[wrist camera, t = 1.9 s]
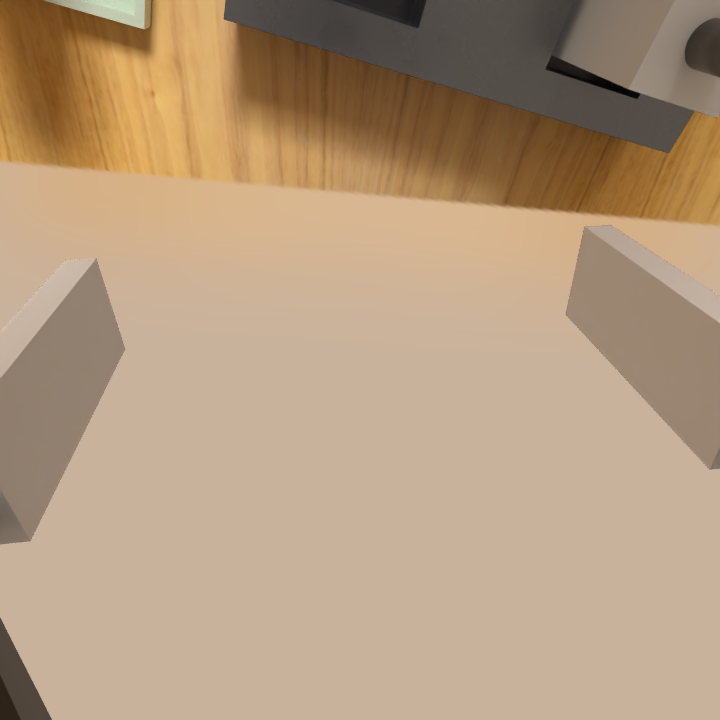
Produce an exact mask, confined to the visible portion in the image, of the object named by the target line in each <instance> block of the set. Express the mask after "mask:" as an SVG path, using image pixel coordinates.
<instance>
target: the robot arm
mask: <svg viewBox="0 0 720 720" xmlns="http://www.w3.org/2000/svg"><path fill="white" fill-rule="evenodd" d="M566 315H567V316H568V318H569V319H570V320H571V321H572V322H573V323H574V324H575V325H576V326H577V327H578V328H579V329H580V330H581V332H582V333H583V334H584V335H585V336H586V337H587V338H588V339H589V340H590V341H591V342H592V343H593V344H594V346H595V347H596V348H597V349H598V350H599V351H600V352H601V353H602V354H603V355H604V356H605V357H606V358H607V359H608V361H609V362H610V363H611V364H612V365H613V366H614V367H615V368H616V369H617V370H618V371H619V372H620V373H621V375H622V376H623V377H624V378H625V379H626V380H627V381H628V382H629V383H630V384H631V385H632V386H633V387H634V389H635V390H636V391H637V392H638V393H639V394H640V395H641V396H642V397H643V398H644V399H645V400H646V402H647V403H648V404H649V405H650V406H651V407H652V408H653V409H654V410H655V411H656V412H657V413H658V414H659V416H660V417H661V418H662V419H663V420H664V421H665V422H666V423H667V424H668V425H669V426H670V427H671V428H672V430H673V431H674V432H675V433H676V434H677V435H678V436H679V437H680V438H681V439H682V440H683V441H684V443H686V445H687V446H688V447H689V448H690V449H691V450H692V451H693V452H694V453H695V454H696V455H697V456H698V458H700V460H701V461H702V462H703V463H704V464H705V465H706V466H707V467H708V468H709V469H718V468H720V296H719V295H718V294H716V293H715V292H713V291H712V290H710V289H709V288H707V287H706V286H704V285H702V284H701V283H699V282H698V281H696V280H695V279H693V278H691V277H690V276H689V275H687V274H685V273H684V272H682V271H681V270H679V269H678V268H676V267H675V266H673V265H671V264H670V263H668V262H667V261H665V260H664V259H662V258H661V257H659V256H658V255H656V254H655V253H653V252H651V251H650V250H648V249H647V248H645V247H644V246H642V245H641V244H639V243H638V242H636V241H634V240H633V239H631V238H630V237H628V236H627V235H625V234H624V233H622V232H621V231H619V230H617V229H616V228H614V227H613V226H611V225H605V226H588V227H584V231H583V236H582V240H581V245H580V250H579V254H578V259H577V264H576V269H575V273H574V278H573V282H572V287H571V292H570V296H569V302H568V306H567V310H566ZM124 350H125V347H124V344H123V341H122V337H121V334H120V331H119V328H118V325H117V322H116V319H115V316H114V312H113V309H112V306H111V303H110V300H109V297H108V294H107V291H106V287H105V284H104V281H103V278H102V275H101V272H100V269H99V265H98V262H97V259H80V260H65V261H64V263H63V264H62V265H61V266H60V267H59V268H58V269H57V270H56V271H55V272H54V273H53V275H52V276H51V277H50V278H49V279H48V280H47V281H46V282H45V283H44V284H43V285H42V287H41V288H40V289H39V290H38V291H37V292H36V293H35V294H34V295H33V296H32V297H31V299H30V300H29V301H28V302H27V303H26V304H25V305H24V306H23V307H22V308H21V309H20V310H19V312H18V313H17V314H16V315H15V316H14V317H13V318H12V319H11V320H10V321H9V322H8V324H7V325H6V326H5V327H4V328H3V329H2V330H1V331H0V544H7V543H17V542H27V541H31V539H32V536H33V535H34V532H35V531H36V528H37V527H38V525H39V522H40V520H41V518H42V516H43V514H44V512H45V510H46V508H47V506H48V504H49V502H50V500H51V498H52V496H53V494H54V492H55V490H56V488H57V486H58V484H59V482H60V480H61V478H62V476H63V474H64V471H65V470H66V468H67V466H68V464H69V462H70V460H71V458H72V456H73V454H74V452H75V450H76V447H77V446H78V443H79V441H80V439H81V437H82V435H83V433H84V431H85V429H86V427H87V425H88V423H89V421H90V419H91V417H92V415H93V413H94V411H95V409H96V407H97V405H98V403H99V401H100V399H101V397H102V395H103V393H104V391H105V389H106V387H107V385H108V383H109V380H110V378H111V376H112V375H113V372H114V371H115V369H116V366H117V364H118V362H119V360H120V358H121V356H122V354H123V352H124ZM0 720H52V719H51V717H50V715H49V713H48V711H47V709H46V707H45V705H44V703H43V701H42V699H41V698H40V695H39V693H38V691H37V689H36V687H35V685H34V684H33V682H32V680H31V678H30V676H29V674H28V672H27V670H26V668H25V666H24V664H23V662H22V660H21V658H20V656H19V654H18V652H17V650H16V648H15V646H14V644H13V642H12V640H11V638H10V636H9V634H8V632H7V630H6V628H5V626H4V624H3V622H2V620H1V618H0Z"/></svg>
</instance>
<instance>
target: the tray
mask: <svg viewBox="0 0 720 720" xmlns="http://www.w3.org/2000/svg"><path fill="white" fill-rule="evenodd" d="M44 1H47V2H51V3H54V4H58V5H61V6H65V7H68V8H72V9H75V10H78V11H82V12H85V13H89V14H92V15H96V16H99V17H103V18H106V19H110V20H113V21H117V22H120V23H124V24H127V25H131V26H134V27H138V28H141V29H146V28H148V27H151V8H152V0H44Z"/></svg>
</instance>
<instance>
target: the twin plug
mask: <svg viewBox="0 0 720 720" xmlns="http://www.w3.org/2000/svg"><path fill="white" fill-rule="evenodd" d="M552 55H553V56H555V57H557V58H559V59H561V60H564V61H566V62H568V63H570V64H573V65H575V66H577V67H579V68H582V69H584V70H586V71H588V72H591V73H593V74H595V75H597V76H600V77H602V78H604V79H606V80H609V81H611V82H613V83H615V84H618V85H620V86H622V87H624V88H627V89H629V90H632V91H635V92H638V93H641V94H645V95H648V96H651V97H654V98H657V99H660V100H663V101H666V102H669V103H672V104H675V105H678V106H681V107H684V108H687V109H691V110H694V111H697V112H700V113H703V114H706V115H709V116H712V117H715V118H717V117H718V115H719V114H720V0H575V1H574V3H573V6H572V8H571V10H570V13H569V15H568V17H567V20H566V22H565V24H564V27H563V29H562V31H561V34H560V36H559V38H558V41H557V43H556V45H555V48H554V50H553V52H552Z"/></svg>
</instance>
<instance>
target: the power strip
mask: <svg viewBox="0 0 720 720" xmlns="http://www.w3.org/2000/svg"><path fill="white" fill-rule="evenodd" d="M574 1H575V0H226V1H225V11H224V20H228V21H231V22H234V23H238V24H241V25H244V26H248V27H251V28H254V29H258V30H261V31H264V32H268V33H271V34H274V35H277V36H281V37H284V38H287V39H291V40H294V41H297V42H301V43H304V44H307V45H311V46H314V47H317V48H321V49H324V50H327V51H331V52H334V53H337V54H341V55H344V56H347V57H351V58H354V59H357V60H361V61H364V62H367V63H370V64H374V65H377V66H380V67H384V68H387V69H390V70H394V71H397V72H400V73H404V74H407V75H410V76H414V77H417V78H420V79H424V80H427V81H430V82H434V83H437V84H440V85H444V86H447V87H450V88H454V89H457V90H460V91H463V92H467V93H470V94H473V95H477V96H480V97H483V98H487V99H490V100H493V101H497V102H500V103H503V104H507V105H510V106H513V107H517V108H520V109H523V110H527V111H530V112H533V113H537V114H540V115H543V116H547V117H550V118H553V119H557V120H560V121H563V122H566V123H570V124H573V125H576V126H580V127H583V128H586V129H590V130H593V131H596V132H600V133H603V134H606V135H610V136H613V137H616V138H620V139H623V140H626V141H630V142H633V143H636V144H640V145H643V146H646V147H650V148H653V149H656V150H659V151H663V152H666V153H669V152H670V151H671V149H672V147H673V146H674V144H675V143H676V141H677V139H678V138H679V136H680V134H681V133H682V131H683V129H684V128H685V126H686V124H687V123H688V121H689V119H690V118H691V116H692V114H693V113H694V110H691V109H687V108H684V107H681V106H678V105H675V104H672V103H669V102H666V101H663V100H660V99H657V98H654V97H651V96H648V95H645V94H641V93H638V92H635V91H632V90H629V89H627V88H624V87H622V86H620V85H618V84H615V83H613V82H611V81H609V80H606V79H604V78H602V77H600V76H597V75H595V74H593V73H591V72H588V71H586V70H584V69H582V68H579V67H577V66H575V65H573V64H570V63H568V62H566V61H564V60H561V59H559V58H557V57H555V56H553V55H552V52H553V50H554V48H555V45H556V43H557V41H558V38H559V36H560V34H561V31H562V29H563V27H564V24H565V22H566V20H567V17H568V15H569V13H570V10H571V8H572V6H573V3H574Z"/></svg>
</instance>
